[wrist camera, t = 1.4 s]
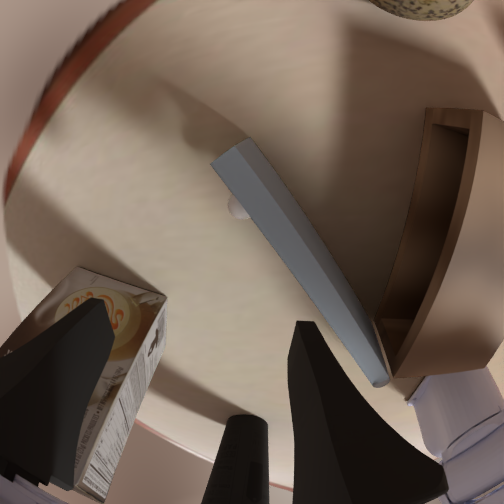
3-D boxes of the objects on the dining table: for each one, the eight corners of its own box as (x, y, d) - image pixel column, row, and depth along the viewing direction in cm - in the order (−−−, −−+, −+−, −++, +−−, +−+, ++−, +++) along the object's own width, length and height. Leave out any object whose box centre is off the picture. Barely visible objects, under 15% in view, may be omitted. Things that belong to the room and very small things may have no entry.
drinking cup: (207, 407, 28) (169, 566, 10) (275, 407, 27) (259, 581, 9) (223, 435, 31) (198, 567, 14) (282, 436, 30) (270, 575, 12)
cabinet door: (374, 327, 20) (391, 382, 15) (345, 342, 21) (356, 397, 16) (250, 136, 15) (234, 145, 10) (214, 162, 16) (183, 184, 11)
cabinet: (457, 321, 20) (484, 368, 15) (374, 320, 20) (393, 378, 15) (513, 146, 13) (567, 165, 7) (426, 107, 13) (483, 110, 8)
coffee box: (84, 317, 24) (0, 442, 10) (76, 263, 21) (-43, 397, 7) (167, 348, 24) (104, 507, 10) (171, 294, 21) (75, 489, 7)
